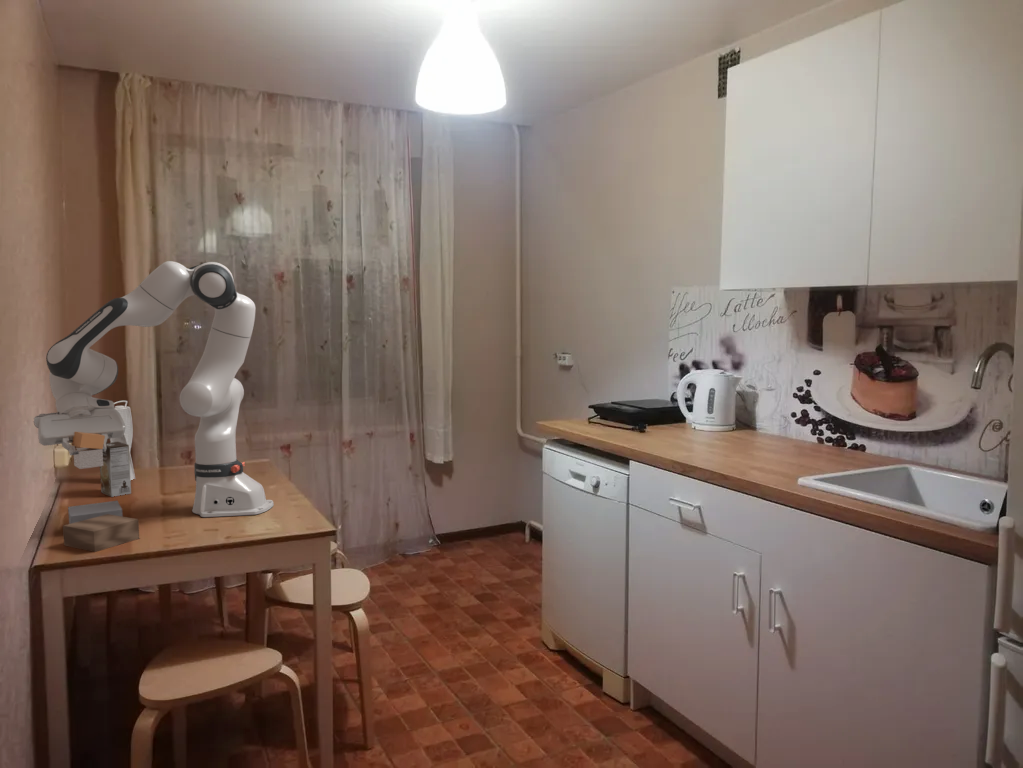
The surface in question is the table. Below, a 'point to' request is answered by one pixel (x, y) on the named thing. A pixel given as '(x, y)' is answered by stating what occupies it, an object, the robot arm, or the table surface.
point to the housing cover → (88, 440)
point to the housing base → (88, 458)
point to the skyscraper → (126, 432)
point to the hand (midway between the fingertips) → (88, 451)
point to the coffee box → (115, 470)
